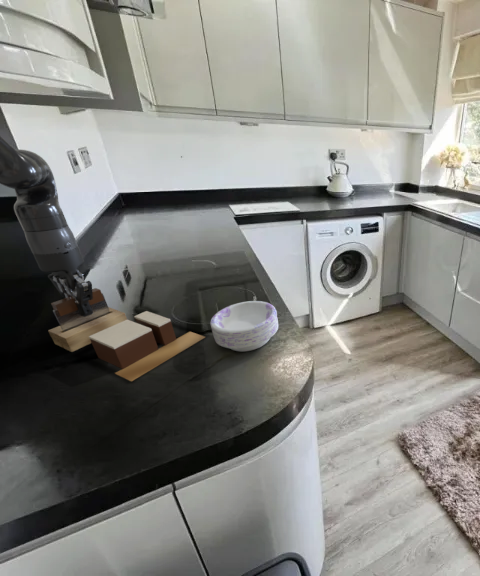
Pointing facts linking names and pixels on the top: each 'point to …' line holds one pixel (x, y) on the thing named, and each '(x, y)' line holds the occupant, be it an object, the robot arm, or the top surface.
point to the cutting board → (159, 356)
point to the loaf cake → (124, 343)
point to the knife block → (85, 331)
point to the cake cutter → (71, 315)
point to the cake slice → (157, 327)
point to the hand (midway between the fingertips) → (84, 313)
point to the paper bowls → (245, 325)
